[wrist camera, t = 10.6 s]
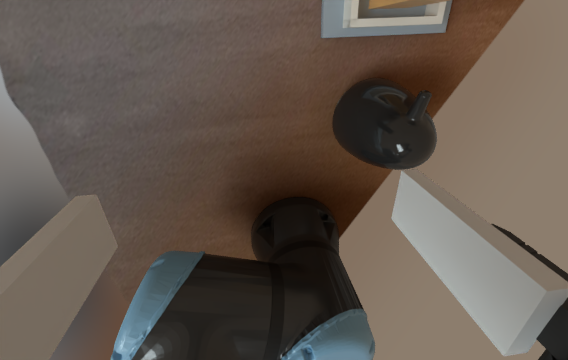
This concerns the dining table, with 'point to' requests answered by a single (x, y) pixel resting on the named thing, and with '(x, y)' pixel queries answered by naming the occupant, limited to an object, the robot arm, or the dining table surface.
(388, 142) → the dark grey egg shape
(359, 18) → the board
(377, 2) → the plug
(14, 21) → the dining table surface
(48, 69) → the dining table surface
